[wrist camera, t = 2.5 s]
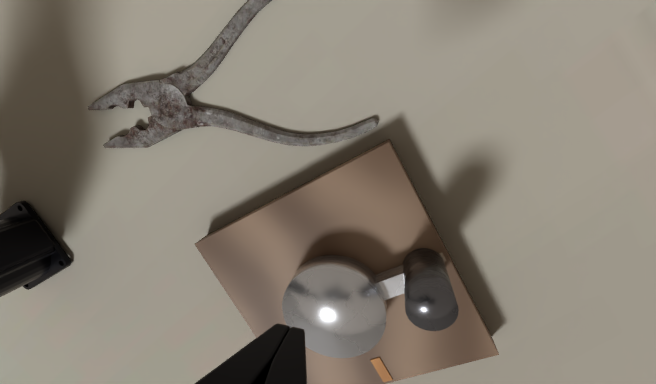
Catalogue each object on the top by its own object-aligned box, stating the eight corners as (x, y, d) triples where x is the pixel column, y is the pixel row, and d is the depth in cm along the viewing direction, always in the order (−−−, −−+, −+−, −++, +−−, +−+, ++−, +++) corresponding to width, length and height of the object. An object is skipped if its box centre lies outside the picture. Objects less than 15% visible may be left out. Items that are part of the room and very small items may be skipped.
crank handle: (320, 350, 22) (304, 402, 18) (273, 275, 21) (245, 314, 17) (466, 303, 18) (484, 356, 15) (418, 212, 17) (425, 243, 14)
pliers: (406, 113, 17) (152, 228, 23) (406, 113, 18) (161, 224, 24) (335, -65, 16) (80, 108, 22) (338, -57, 16) (92, 107, 22)
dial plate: (306, 388, 25) (301, 406, 24) (206, 235, 23) (193, 244, 21) (491, 337, 21) (499, 355, 19) (389, 138, 18) (388, 142, 17)
